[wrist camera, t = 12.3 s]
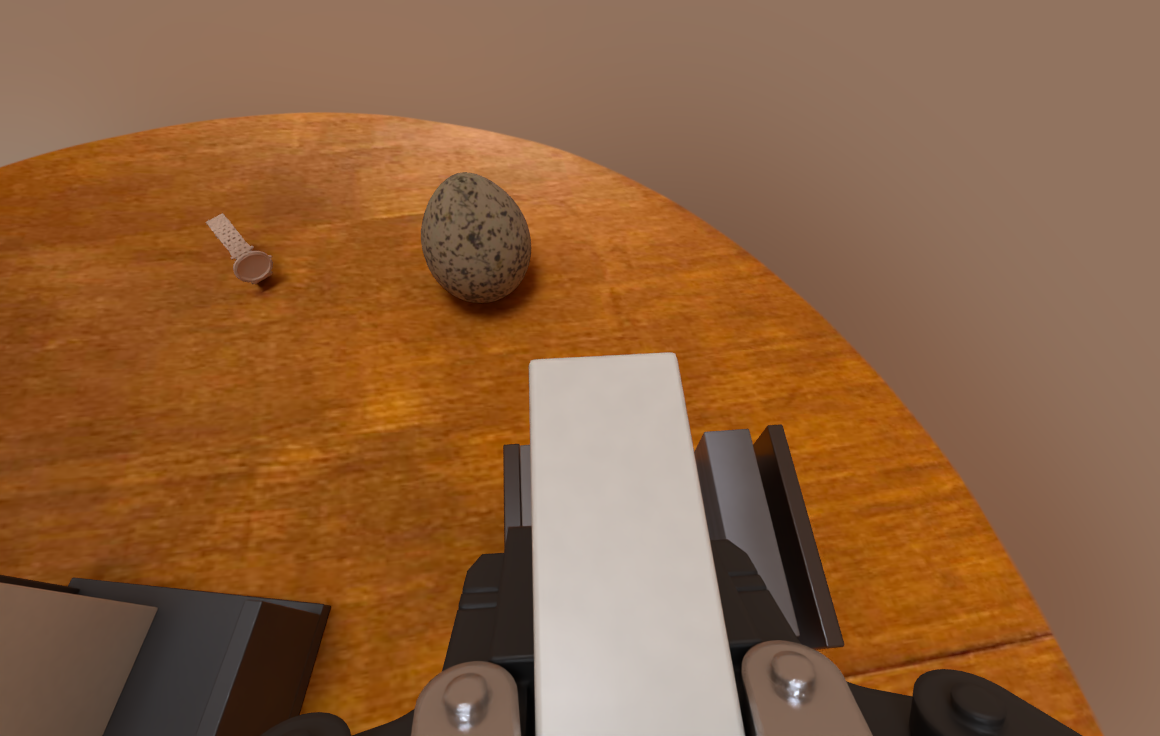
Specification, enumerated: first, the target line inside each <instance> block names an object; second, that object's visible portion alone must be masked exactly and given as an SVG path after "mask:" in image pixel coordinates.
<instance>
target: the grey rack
mask: <svg viewBox="0 0 1160 736" xmlns="http://www.w3.org/2000/svg"><path fill="white" fill-rule="evenodd" d="M694 454H695V460H696V465H697V471H698V476H699V482H700V487H701V493H702V499H703V504H704V510H705V515H706V521H707V526H708V532H709V536H710V538H711V540H722V539H728V540H730V541H731V542H732V543H734V544H735V545H736V546H738V547H739V548H740V549H742V550H743V551H744V552H746V553H747V554H748V556H749V558H750V559H751V561H752V563H753V564H754V566H755V568H756V569H757V571H758V575H760V576H761V578H762V579H763V581H764V583H765V584H766V587H767V590H769V591H770V593H771V594H772V596H773V598H774V599H775V601H776V603H777V604H778V606H779V608H780V609H781V611H782V613H783V615H784V616H785V618H786V620H787V621H788V623H789V625H790V626H791V628H792V630H793V631H794V633H795V635H796V636H797V638H798V640H799V641H800V643H801V644H802V645H805V646H807V647H810V648H812V649H814V650H818V649H827V648H836V647H843V646H844V641H843V638H842V634H841V631H840V627H839V624H838V620H837V617H836V613H835V609H834V606H833V602H832V599H831V595H830V592H829V588H828V585H827V581H826V578H825V574H824V571H823V567H822V563H821V560H820V556H819V553H818V549H817V546H816V542H815V539H814V535H813V532H812V528H811V525H810V521H809V517H808V514H807V510H806V507H805V503H804V500H803V496H802V493H801V489H800V486H799V482H798V478H797V475H796V471H795V468H794V464H793V461H792V457H791V454H790V450H789V447H788V443H787V440H786V436H785V432H784V429H783V426H782V425H768V426H767V427H766V428H765V430H764V431H763V432H762V434H761V435H760V436H759V438H758V439H757V440H756V442H755V443H754V444H752V440H751V436H750V432H749V429H740V430H726V431H713V432H705V433H704V434H703V436H702V438H701V440H700V442H699V444H698V446H697V448H696V450H695V452H694ZM503 455H504V547H505V544H506V538H507V531H508V527H517V526H532V517H531V460H530V445H522V446H520V445H519V444H510V445H504V446H503Z"/></svg>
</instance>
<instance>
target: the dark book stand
mask: <svg viewBox="0 0 1160 736" xmlns="http://www.w3.org/2000/svg"><path fill="white" fill-rule="evenodd" d="M330 608H331V606H328V605H324V604H317V603H308V602H298V601H289V600H279V599H270V598H261V597H251V596H242V595H232V594H223V593H214V592H204V591H195V590H185V589H176V588H167V587H157V586H148V585H138V584H129V583H119V582H110V581H101V580H91V579H82V578H72V580H71V581H70V583H69V585H68V586H62V585H56V584H50V583H44V582H39V581H33V580H27V579H21V578H15V577H10V576H4V575H0V736H260V735H262V734H263V733H264V732H266V731H267V730H269V729H270V728H272V727H274V726H275V725H277V724H279V723H281V722H283V721H285V720H288V719H290V718H292V717H296V716H299V713H300V709H301V706H302V703H303V699H304V696H305V692H306V689H307V686H308V682H309V679H310V675H311V672H312V669H313V665H314V662H315V658H316V655H317V652H318V648H319V645H320V642H321V638H322V635H323V631H324V628H325V625H326V621H327V618H328V614H329V611H330Z"/></svg>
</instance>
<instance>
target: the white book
mask: <svg viewBox="0 0 1160 736" xmlns="http://www.w3.org/2000/svg"><path fill="white" fill-rule="evenodd" d="M529 403H530V460H531V517H532V574H533V631H534V687H535V736H745V731H744V725H743V719H742V714H741V708H740V703H739V697H738V692H737V686H736V681H735V675H734V670H733V664H732V659H731V653H730V648H729V642H728V637H727V631H726V626H725V620H724V615H723V609H722V603H721V598H720V592H719V587H718V581H717V576H716V570H715V565H714V559H713V554H712V548H711V543H710V537H709V532H708V526H707V521H706V515H705V510H704V504H703V499H702V493H701V487H700V482H699V476H698V471H697V465H696V460H695V454H694V449H693V443H692V438H691V432H690V427H689V421H688V416H687V410H686V405H685V399H684V394H683V388H682V383H681V377H680V371H679V366H678V360H677V357H676V355H675V353H651V354H632V355H613V356H593V357H574V358H555V359H535V360H532V361H531V362H530V364H529Z"/></svg>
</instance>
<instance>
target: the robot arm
mask: <svg viewBox="0 0 1160 736" xmlns="http://www.w3.org/2000/svg"><path fill="white" fill-rule="evenodd" d="M709 537H710V536H709ZM710 543H711V548H712V554H713V559H714V565H715V570H716V576H717V581H718V587H719V592H720V598H721V603H722V609H723V615H724V620H725V626H726V631H727V637H728V642H729V648H730V653H731V659H732V664H733V670H734V675H735V681H736V686H737V692H738V697H739V703H740V708H741V714H742V719H743V725H744V731H745V736H1082V735H1080V734H1079V733H1077V732H1075V731H1074V730H1072V729H1070V728H1069V727H1067V726H1065V725H1064V724H1062V723H1060V722H1059V721H1057V720H1055V719H1054V718H1052V717H1051V716H1049V715H1047V714H1046V713H1044V712H1042V711H1041V710H1039V709H1037V708H1036V707H1034V706H1032V705H1031V704H1029V703H1027V702H1026V701H1024V700H1022V699H1021V698H1019V697H1017V696H1016V695H1014V694H1012V693H1011V692H1009V691H1007V690H1006V689H1004V688H1002V687H1001V686H999V685H997V684H995V683H993V682H991V681H989V680H987V679H984V678H982V677H979V676H976V675H974V674H970V673H966V672H963V671H957V670H948V669H940V670H932V671H929V672H926V673H924V674H922V675H921V676H920V677H919V678H918V679H917V680H916V682H915V684H914V690H913V697H912V696H907V695H902V694H896V693H891V692H886V691H881V690H875V689H870V688H866V687H862V686H858V685H855V684H852V683H849V682H847V681H846V680H845V678H844V677H843V675H842V673H841V672H840V670H839V669H838V668H837V667H836V665H835V664H834V663H833V662H831V661H830V660H829V659H828V658H827V657H825V656H824V655H823V654H821V653H819V652H818V651H816V650H814V649H812V648H810V647H807V646H805V645H802V644H801V643H800V641H799V640H798V638H797V636H796V635H795V633H794V631H793V630H792V628H791V626H790V625H789V623H788V621H787V620H786V618H785V616H784V615H783V613H782V611H781V609H780V608H779V606H778V604H777V603H776V601H775V599H774V598H773V596H772V594H771V593H770V591H769V590H767V587H766V584H765V583H764V581H763V579H762V578H761V576H760V575H758V571H757V569H756V568H755V566H754V564H753V563H752V561H751V559H750V558H749V556H748V554H747V553H746V552H744V551H743V550H742V549H740V548H739V547H738V546H736V545H735V544H734V543H732V542H731V541H730V540H728V539H722V540H711V538H710ZM260 736H351V734H350V729H349V728H348V726H347V724H346V723H345V722H344V721H343V720H342V719H341V718H339V717H338V716H336V715H333V714H330V713H322V712H316V713H307V714H302V715H299V716H296V717H292V718H290V719H288V720H285V721H283V722H281V723H279V724H277V725H275V726H274V727H272V728H270V729H269V730H267V731H266V732H264V733H263V734H262V735H260ZM352 736H535V687H534V631H533V574H532V526H517V527H508V531H507V538H506V544H505V551H504V553H495V554H482V555H481V556H480V557H479V558H478V559H477V561H476V562H475V563H474V564H473V565H472V566H471V567H470V569H469V570H468V571H467V574H466V578H465V582H464V586H463V594H461V598H460V602H459V610H457V614H456V618H455V622H454V626H453V630H452V634H451V638H450V642H449V646H448V650H447V654H446V658H445V662H444V666H443V670H442V672H441V673H440V674H438V675H437V676H435V677H434V678H433V679H432V680H431V681H430V682H429V683H428V684H427V685H426V686H425V687H424V689H423V690H422V692H421V693H420V695H419V697H418V700H417V702H416V706H415V709H414V710H412V711H411V712H409V713H408V714H406V715H404V716H402V717H400V718H399V719H396V720H394V721H392V722H389V723H387V724H384V725H381V726H378V727H375V728H372V729H370V730H367V731H364V732H361V733H358V734H355V735H352Z"/></svg>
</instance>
